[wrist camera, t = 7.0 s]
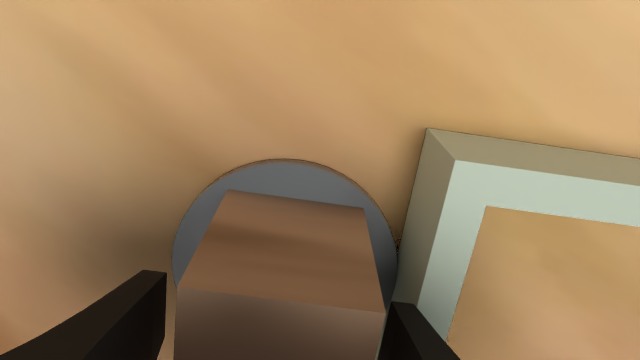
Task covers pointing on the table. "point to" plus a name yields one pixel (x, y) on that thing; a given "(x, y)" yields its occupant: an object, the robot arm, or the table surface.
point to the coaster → (292, 183)
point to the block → (280, 284)
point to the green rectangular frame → (497, 191)
